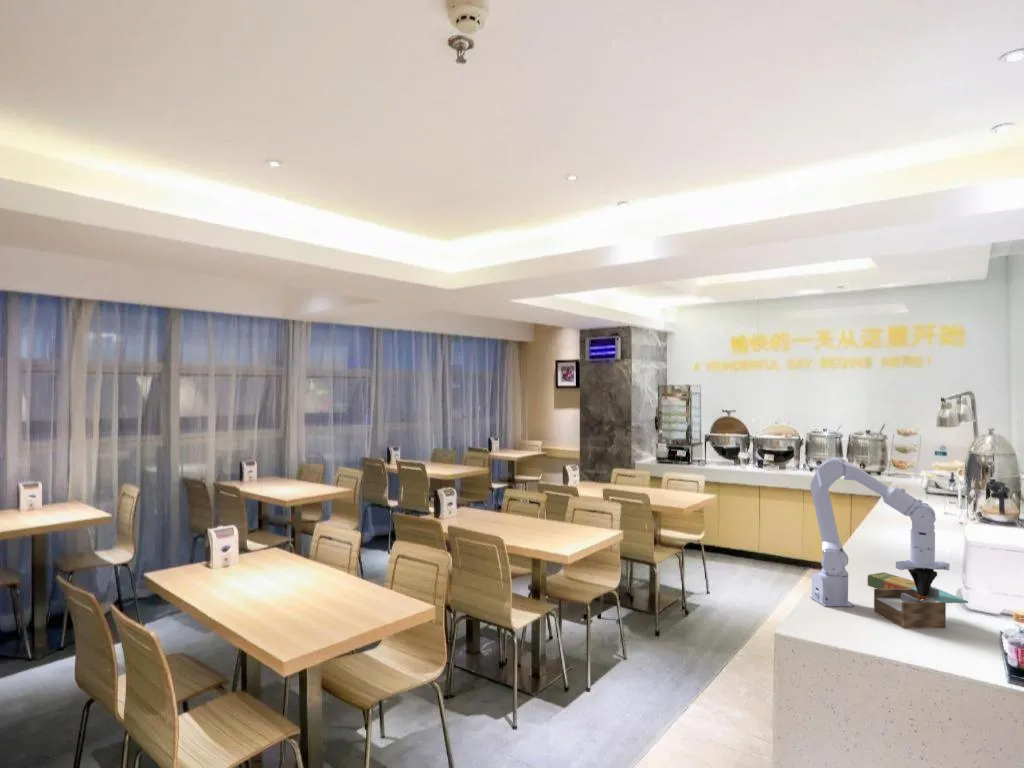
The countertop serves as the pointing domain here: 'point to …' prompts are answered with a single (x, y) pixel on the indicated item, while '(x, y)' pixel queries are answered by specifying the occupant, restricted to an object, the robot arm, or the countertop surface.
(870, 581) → the carton
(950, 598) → the upper lid
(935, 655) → the countertop surface
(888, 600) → the lower lid
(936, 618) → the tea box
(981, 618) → the countertop surface
